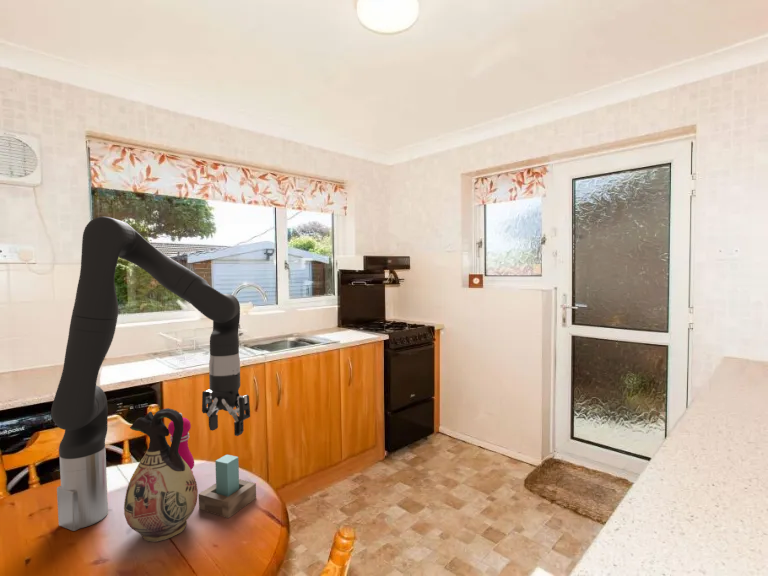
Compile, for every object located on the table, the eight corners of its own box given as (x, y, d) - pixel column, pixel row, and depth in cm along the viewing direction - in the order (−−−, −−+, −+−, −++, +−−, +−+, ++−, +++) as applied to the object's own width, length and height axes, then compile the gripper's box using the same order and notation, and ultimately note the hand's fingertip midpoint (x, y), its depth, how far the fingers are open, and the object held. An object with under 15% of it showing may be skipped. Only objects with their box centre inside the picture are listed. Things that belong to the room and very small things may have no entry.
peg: (228, 508, 108) (227, 463, 107) (216, 505, 110) (215, 460, 109) (239, 500, 112) (238, 457, 111) (228, 497, 113) (226, 454, 113)
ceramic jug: (108, 550, 93) (102, 417, 91) (155, 509, 108) (151, 395, 106) (178, 556, 90) (173, 420, 89) (217, 514, 106) (213, 397, 104)
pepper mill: (184, 487, 119) (181, 418, 118) (161, 485, 120) (159, 416, 119) (200, 474, 126) (197, 409, 125) (178, 472, 127) (176, 408, 126)
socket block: (228, 518, 104) (228, 502, 104) (199, 509, 108) (198, 494, 108) (256, 497, 113) (255, 483, 113) (227, 490, 117) (227, 476, 117)
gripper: (193, 371, 108) (194, 433, 109) (235, 377, 102) (236, 442, 103) (215, 365, 115) (216, 423, 116) (256, 370, 109) (257, 431, 110)
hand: (226, 432), depth 110 cm, fingers open, 8 cm apart
